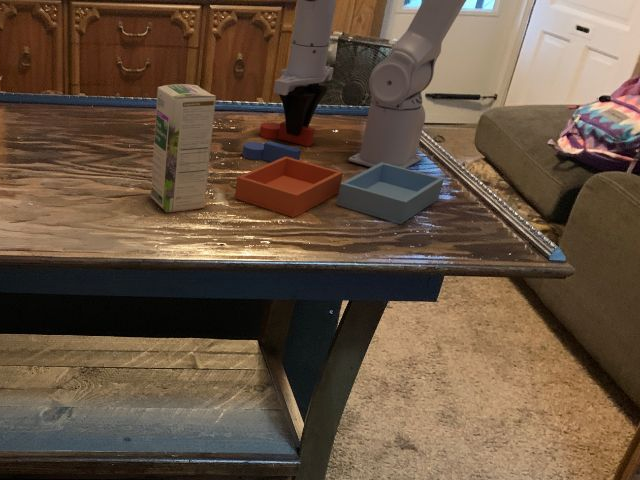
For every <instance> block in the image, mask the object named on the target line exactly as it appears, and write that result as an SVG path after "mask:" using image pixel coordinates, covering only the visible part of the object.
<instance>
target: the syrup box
mask: <svg viewBox="0 0 640 480" xmlns="http://www.w3.org/2000/svg"><path fill="white" fill-rule="evenodd" d="M156 90H157V91H156V92H157V94H156V110H155V121H154V122H155V125H154V137H153V138H154V139H153V141H154V142H153V150H152V151H153V153H152V169H151V184H150V185H151V187H150V199H151V200H153V201H154V202H155V203H156V204H157V205H158V206H159V207H160V208H161V209H162V210H163V211H164V212H165V213H174V212H183V211H191V210H198V209H205V208H206V207H205V205H206V198H207V197H206V196H207V187H208V177H209V167H210V158H211V147H212V138H213V129H214V120H215V109H216V101H217V100H216V99H217V97H216V96H217V95H215V94H212V93H210V92H209V91H207V90H206V89H204V88H201V87H200V86H199V85H198V84H188V83H187V84H186V83H175V84H166V85H161V86H158V87H157V89H156Z"/></svg>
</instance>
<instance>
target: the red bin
mask: <svg viewBox="0 0 640 480" xmlns="http://www.w3.org/2000/svg"><path fill="white" fill-rule="evenodd" d="M343 174H344V172H343V171H339V170H335V169H332V168H328V167H326V166H322V165H318V164H315V163H310V162H307V161H304V160H300V159H299V160H296V159H293V158H289V157H286V156H285V157H283V158H281V159H278V160H276V161H274V162H268V163H267V164H264V165H262V166H260V167H257V168H255V169H253V170H251V171H248V172H246V173H243V174H241V175H239V176H237V177H236V184H235V185H236V186H235V195H234V199H235V200H238V201H241V202H245V203H248V204H250V205H253V206H257V207H260V208H263V209H266V210H269V211H272V212H275V213H278V214H281V215H284V216H288V217H290V218H296V217H297V216H299V215H302V214H303V213H305V212H306V211H308V210H310V209H312V208H315V207H316V206H318V205H319V204H320V205H321V203H322V204H323V202H325V201H327V200H329V199H331V198H333V197H334V196H335V197H336V195H337V196H338V194H339V189H340V184H341V183H342V179H343Z"/></svg>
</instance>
